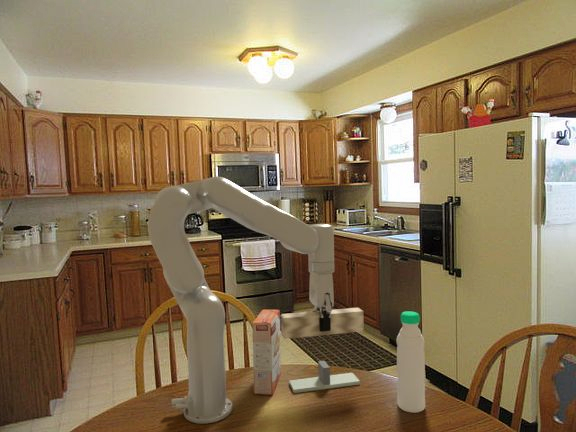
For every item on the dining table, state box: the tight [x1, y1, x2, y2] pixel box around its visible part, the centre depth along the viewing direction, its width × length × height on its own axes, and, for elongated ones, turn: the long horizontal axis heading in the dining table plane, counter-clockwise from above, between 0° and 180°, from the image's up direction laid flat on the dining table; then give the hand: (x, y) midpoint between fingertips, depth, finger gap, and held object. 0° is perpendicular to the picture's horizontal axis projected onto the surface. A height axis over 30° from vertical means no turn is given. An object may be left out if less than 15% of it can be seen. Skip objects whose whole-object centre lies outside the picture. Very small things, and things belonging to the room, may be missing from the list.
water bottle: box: [396, 311, 426, 414], centre depth 108 cm, size 7×7×25 cm
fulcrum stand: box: [288, 360, 361, 394], centre depth 123 cm, size 20×6×6 cm, turn 102°
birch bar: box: [280, 307, 365, 340], centre depth 122 cm, size 24×4×6 cm, turn 102°
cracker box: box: [252, 309, 282, 396], centre depth 123 cm, size 14×6×21 cm, turn 171°
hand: (322, 327), depth 122 cm, fingers closed on birch bar, 4 cm apart
